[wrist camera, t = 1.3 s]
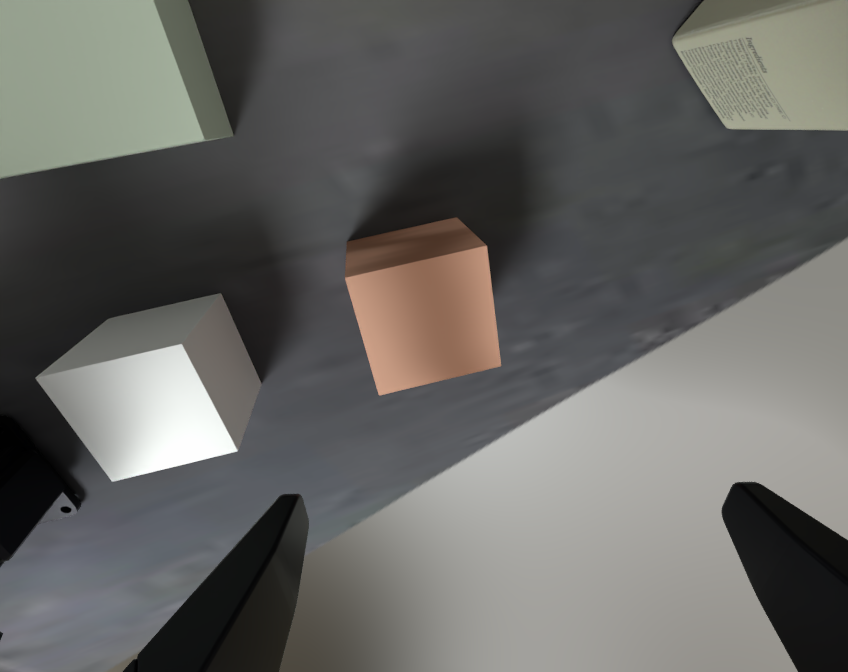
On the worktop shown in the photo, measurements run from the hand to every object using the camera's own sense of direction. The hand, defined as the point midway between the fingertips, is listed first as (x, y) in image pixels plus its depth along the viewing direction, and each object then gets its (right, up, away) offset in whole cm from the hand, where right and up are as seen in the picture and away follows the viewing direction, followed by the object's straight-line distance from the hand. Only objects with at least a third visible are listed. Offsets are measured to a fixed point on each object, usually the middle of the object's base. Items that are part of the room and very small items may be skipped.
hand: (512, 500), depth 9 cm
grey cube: (-13, +3, +11) cm, 17 cm away
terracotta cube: (-2, +6, +11) cm, 13 cm away
